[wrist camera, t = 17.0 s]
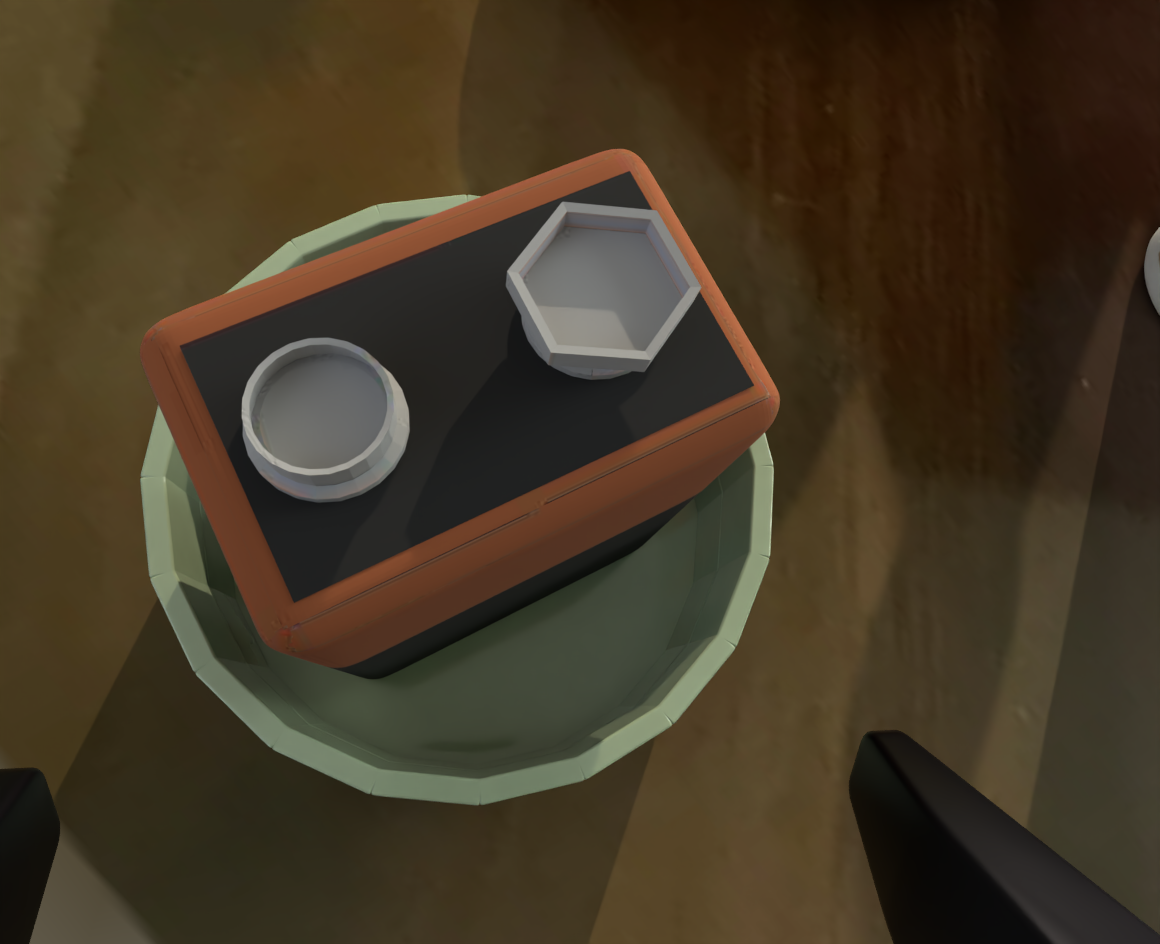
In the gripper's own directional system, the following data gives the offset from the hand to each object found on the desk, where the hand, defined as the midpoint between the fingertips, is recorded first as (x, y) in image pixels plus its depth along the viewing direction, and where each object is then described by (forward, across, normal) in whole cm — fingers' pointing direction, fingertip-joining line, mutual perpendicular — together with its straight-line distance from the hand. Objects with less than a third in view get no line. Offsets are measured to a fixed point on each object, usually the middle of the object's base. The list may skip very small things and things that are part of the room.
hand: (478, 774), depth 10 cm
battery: (+9, 0, +3) cm, 10 cm away
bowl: (+10, 0, +3) cm, 10 cm away
